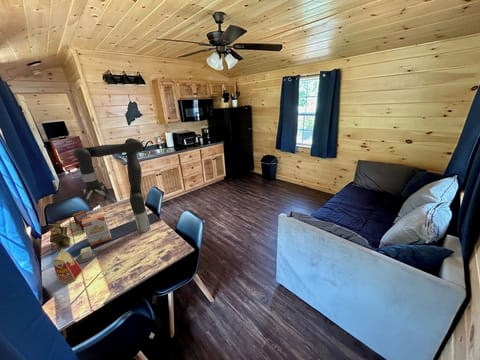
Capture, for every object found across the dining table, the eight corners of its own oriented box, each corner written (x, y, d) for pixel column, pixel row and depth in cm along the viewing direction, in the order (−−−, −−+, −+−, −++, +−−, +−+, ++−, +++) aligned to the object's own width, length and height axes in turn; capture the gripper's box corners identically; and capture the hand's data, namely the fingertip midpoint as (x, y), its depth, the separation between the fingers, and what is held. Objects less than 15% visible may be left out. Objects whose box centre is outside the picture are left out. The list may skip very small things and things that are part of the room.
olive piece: (56, 241, 159) (46, 220, 151) (71, 236, 164) (62, 215, 157) (54, 255, 144) (42, 232, 136) (71, 249, 149) (61, 227, 142)
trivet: (98, 248, 149) (98, 247, 149) (97, 258, 139) (96, 257, 139) (78, 254, 144) (78, 253, 144) (75, 265, 134) (75, 264, 134)
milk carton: (68, 272, 129) (56, 247, 121) (83, 270, 129) (72, 245, 122) (57, 284, 120) (44, 257, 113) (74, 282, 121) (61, 256, 113)
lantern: (93, 218, 171) (81, 208, 188) (80, 223, 164) (69, 212, 181) (96, 227, 174) (85, 217, 192) (84, 233, 167) (73, 221, 185)
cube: (92, 252, 144) (90, 246, 143) (91, 256, 140) (89, 250, 138) (83, 254, 142) (81, 249, 140) (82, 259, 138) (80, 253, 136)
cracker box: (90, 246, 151) (81, 223, 143) (90, 242, 156) (81, 219, 148) (111, 239, 158) (104, 216, 150) (111, 235, 163) (103, 213, 155)
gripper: (103, 175, 135) (110, 197, 141) (78, 179, 129) (86, 202, 135) (103, 178, 129) (110, 201, 135) (75, 183, 123) (84, 207, 129)
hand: (98, 201), depth 135 cm, fingers open, 8 cm apart
